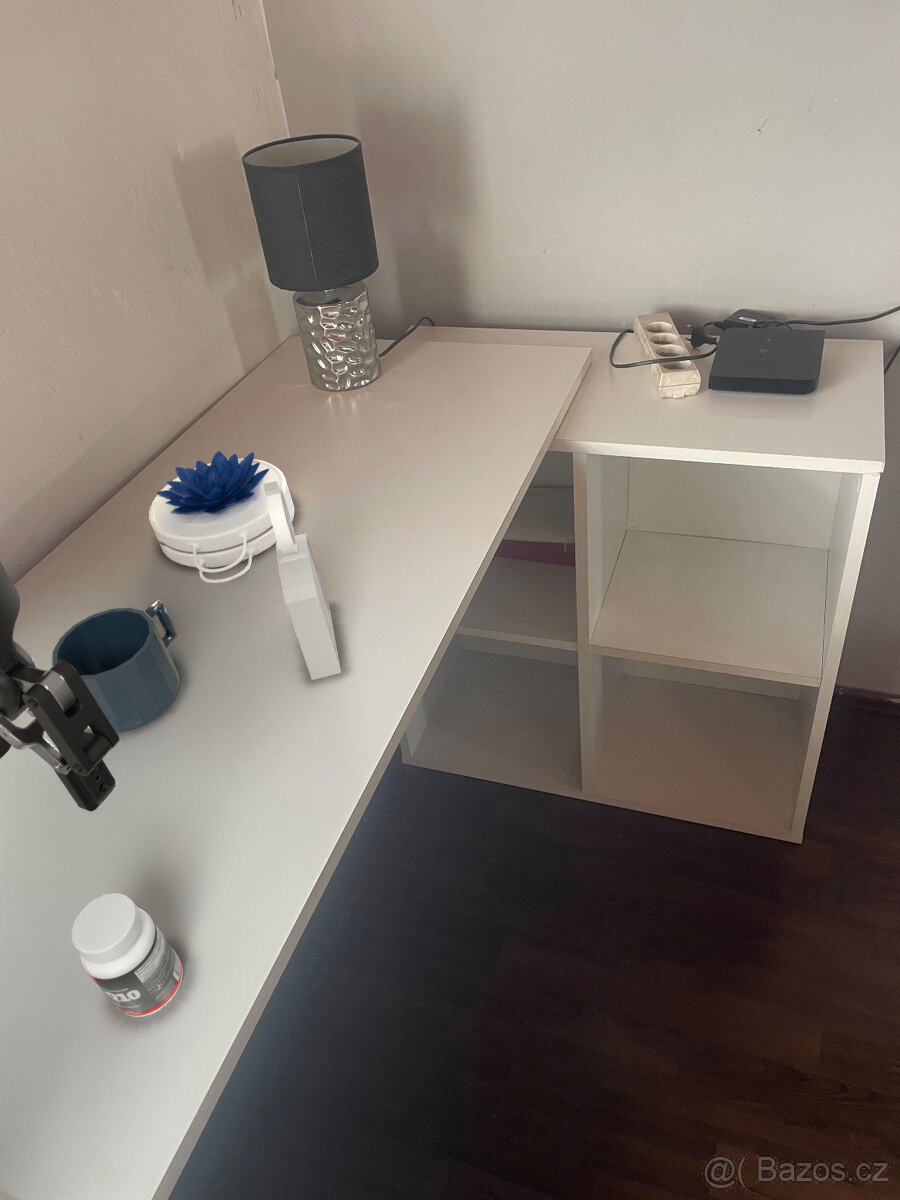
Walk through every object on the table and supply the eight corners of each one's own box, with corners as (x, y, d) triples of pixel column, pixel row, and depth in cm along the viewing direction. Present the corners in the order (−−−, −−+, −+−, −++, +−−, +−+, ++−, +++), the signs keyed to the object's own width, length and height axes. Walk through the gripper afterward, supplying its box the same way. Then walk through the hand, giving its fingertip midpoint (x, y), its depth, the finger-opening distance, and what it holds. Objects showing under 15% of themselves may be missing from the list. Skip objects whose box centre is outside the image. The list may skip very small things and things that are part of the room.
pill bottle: (101, 1005, 58) (47, 946, 53) (143, 941, 61) (96, 879, 56) (157, 1029, 57) (107, 969, 51) (198, 961, 60) (154, 899, 54)
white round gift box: (146, 454, 101) (127, 556, 86) (277, 427, 101) (282, 523, 86) (166, 502, 105) (152, 607, 90) (292, 476, 106) (299, 576, 91)
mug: (137, 743, 76) (105, 689, 71) (64, 718, 80) (30, 665, 75) (216, 653, 83) (192, 599, 79) (147, 634, 87) (120, 581, 82)
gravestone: (329, 608, 86) (282, 453, 74) (341, 672, 79) (291, 513, 67) (302, 614, 86) (251, 461, 74) (312, 680, 79) (257, 522, 67)
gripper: (-269, 580, 40) (-86, 793, 51) (-70, 645, 35) (91, 869, 45) (-131, 492, 45) (11, 702, 56) (64, 536, 39) (181, 761, 50)
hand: (46, 777), depth 50 cm, fingers open, 8 cm apart
